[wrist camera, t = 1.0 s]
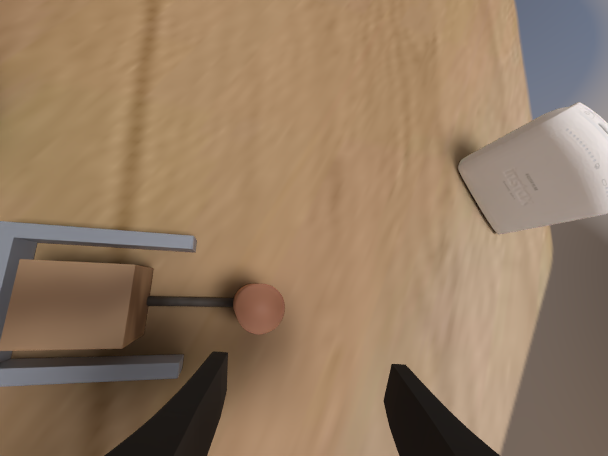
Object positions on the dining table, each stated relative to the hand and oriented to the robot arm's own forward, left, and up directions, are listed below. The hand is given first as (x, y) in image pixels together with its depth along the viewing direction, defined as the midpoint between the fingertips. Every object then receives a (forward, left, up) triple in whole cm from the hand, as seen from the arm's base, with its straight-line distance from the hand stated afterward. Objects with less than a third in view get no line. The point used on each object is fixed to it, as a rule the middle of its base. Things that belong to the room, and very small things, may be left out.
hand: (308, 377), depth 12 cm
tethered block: (+2, +8, -13) cm, 15 cm away
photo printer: (+15, -25, -13) cm, 32 cm away
